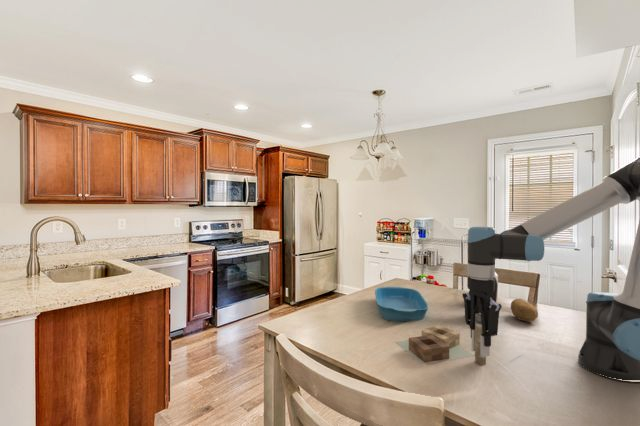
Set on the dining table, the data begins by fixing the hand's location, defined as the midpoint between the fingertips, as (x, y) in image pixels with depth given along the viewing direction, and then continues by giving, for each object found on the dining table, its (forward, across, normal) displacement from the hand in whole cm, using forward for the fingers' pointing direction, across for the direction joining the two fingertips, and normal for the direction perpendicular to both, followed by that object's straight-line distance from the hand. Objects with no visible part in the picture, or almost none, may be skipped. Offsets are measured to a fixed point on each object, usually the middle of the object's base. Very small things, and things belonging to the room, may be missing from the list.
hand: (480, 352), depth 96 cm
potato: (+5, +27, -48) cm, 55 cm away
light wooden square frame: (+3, +15, +3) cm, 16 cm away
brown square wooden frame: (+3, +9, +12) cm, 15 cm away
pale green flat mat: (+4, +12, +8) cm, 15 cm away
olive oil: (+5, +34, -33) cm, 48 cm away
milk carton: (+5, +49, -49) cm, 69 cm away
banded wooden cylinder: (+4, 0, 0) cm, 4 cm away
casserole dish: (+5, +52, -2) cm, 52 cm away
